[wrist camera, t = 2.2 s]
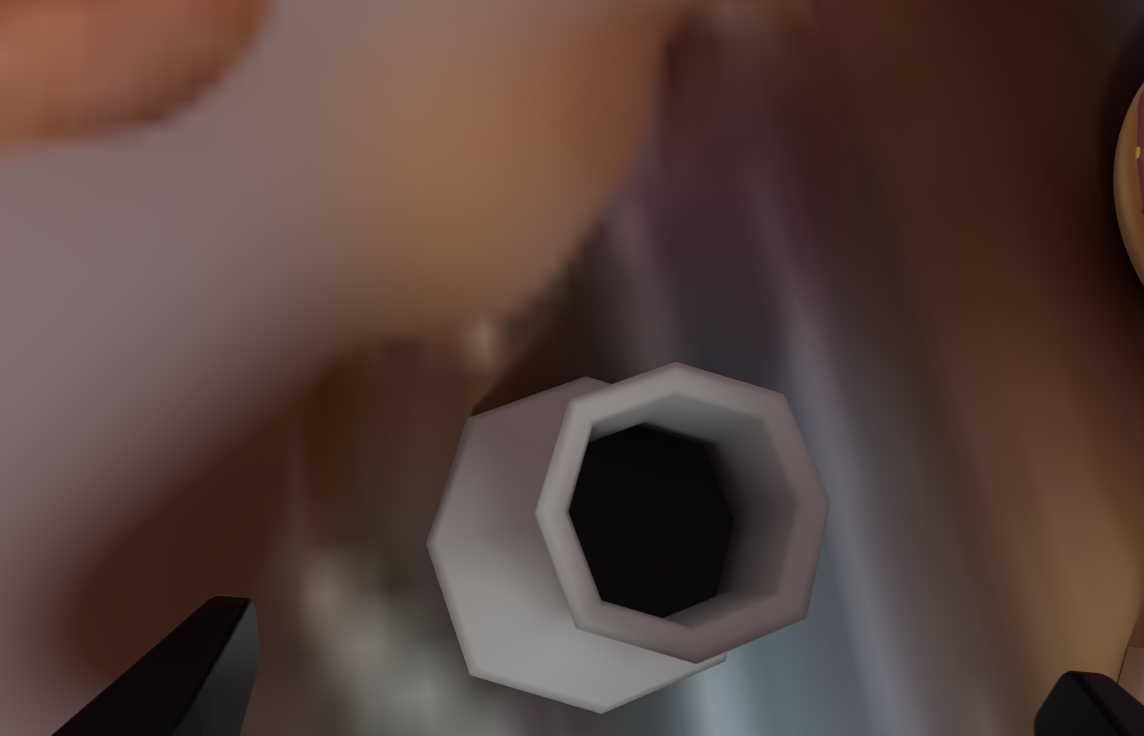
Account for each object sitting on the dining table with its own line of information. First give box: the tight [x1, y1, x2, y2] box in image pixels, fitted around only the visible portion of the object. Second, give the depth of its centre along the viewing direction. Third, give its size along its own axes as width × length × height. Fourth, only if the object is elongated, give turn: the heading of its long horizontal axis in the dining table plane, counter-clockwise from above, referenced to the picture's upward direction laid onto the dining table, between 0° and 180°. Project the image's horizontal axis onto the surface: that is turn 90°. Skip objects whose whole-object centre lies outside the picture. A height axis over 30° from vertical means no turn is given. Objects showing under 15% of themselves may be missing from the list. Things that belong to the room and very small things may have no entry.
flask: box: [426, 362, 830, 714], centre depth 14 cm, size 7×7×10 cm
